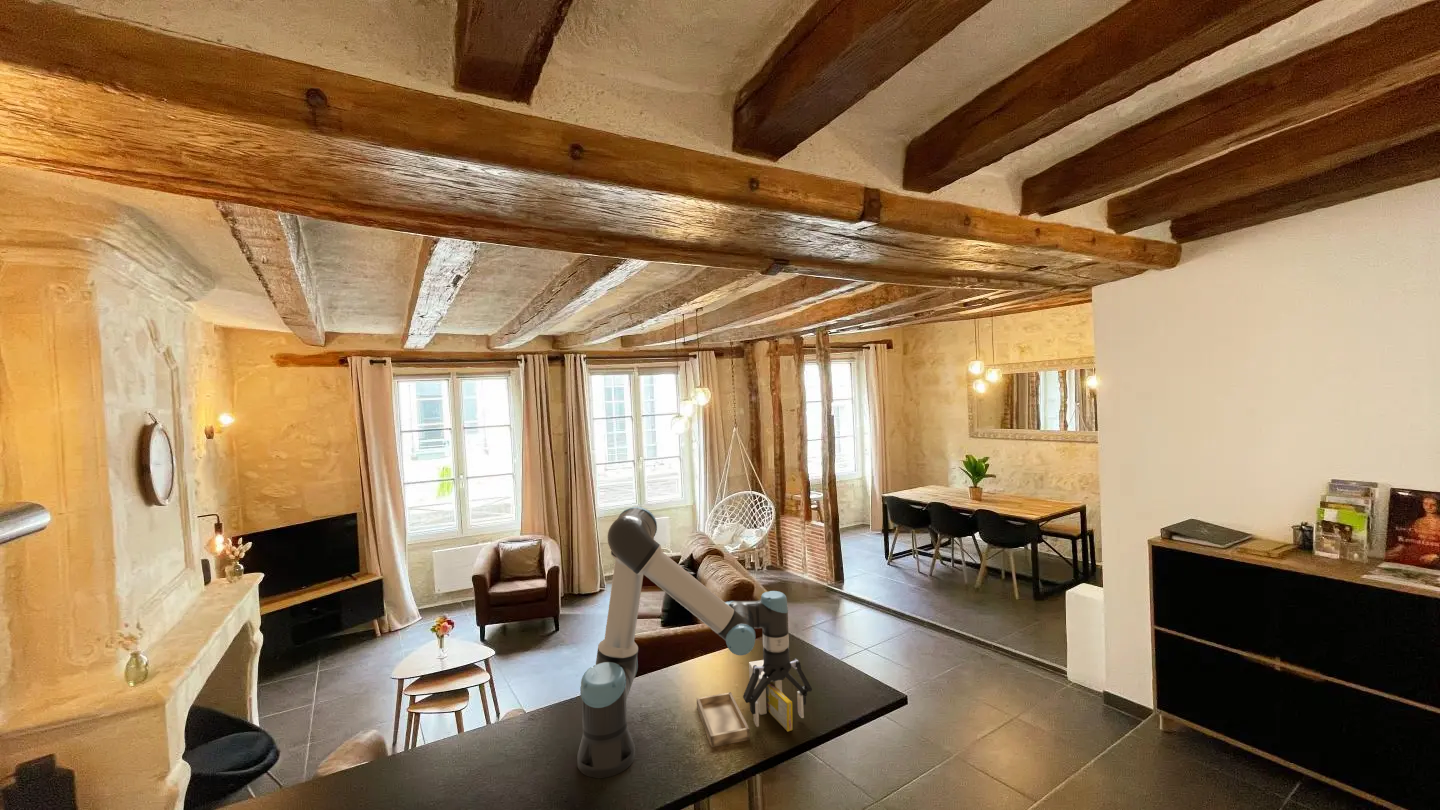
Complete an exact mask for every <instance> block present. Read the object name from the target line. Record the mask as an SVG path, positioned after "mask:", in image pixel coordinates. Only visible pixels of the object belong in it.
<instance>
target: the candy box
mask: <svg viewBox="0 0 1440 810" xmlns="http://www.w3.org/2000/svg"><path fill="white" fill-rule="evenodd" d="M766 712H768V713H769V714H770V715H771V716H772V717H773V718H774V720H776V722H778V723H779V725H780V726H782V727H783V728H784V730H786V732H789V733H790V732H791V731H793V701H792V700H790V698H788V697H787V696H786V695H785V694H784V693H783V691H782V692H781V691H780V690H779V689H778V688H776V687H775V686H774V685H773V684H772V683H771V682H770V684H768V685H767V686H766Z"/></svg>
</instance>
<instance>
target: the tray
mask: <svg viewBox="0 0 1440 810" xmlns="http://www.w3.org/2000/svg"><path fill="white" fill-rule="evenodd" d="M696 709H697V712H698V715H699V717H700V720H701V722H702V725H703V728H704V730H705V733H706V737H707V739H708V741H709V744H710V747H711V748H715V747H720V746H724V745H725V746H726V745H729V744H734V743H735V744H736V743H740V742H744V741H745V742H747V741H749V740H751V735H750V733H751V732H750V731H751V729H750V727H749V725H748V723H747V721H746V719H745V717H744V715H743V714H742V712H741V709H740V707H739V705H738V704H737V701H736V699H735V698H734V695H733V693H732V692H731V691H728V692H725V693H718V694H713V695H706V696H700V697H696Z"/></svg>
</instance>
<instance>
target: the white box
mask: <svg viewBox="0 0 1440 810" xmlns="http://www.w3.org/2000/svg"><path fill="white" fill-rule="evenodd" d="M763 664H764V660H763V659H761V660H754V661H749V662H748V672H749V673H748V674H749V676H748V677H749V679H750V678H751V676H752V673H753V666H754V665H756V666H757V667H760V666H763ZM763 674H764V671H763V672H761V675H759V679H758V681H757V684H756V686H757V685H758V683H759V682H760V680H761V679H762V676H763ZM767 678H768V677H767ZM771 683H772V684H773V685H774V686H775V687H776V688H778V689H779V690H780V691H781V692H782V693H783V680H777V681H771ZM756 686H755V688H756ZM757 703H758V712H759V716H762V715H766V714H767V712H768V711H767V710H766V688H765V689H764V691H763V692H762V694H761V695H760V697H759V698H758V700H757Z"/></svg>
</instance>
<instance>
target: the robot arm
mask: <svg viewBox="0 0 1440 810" xmlns="http://www.w3.org/2000/svg"><path fill="white" fill-rule="evenodd" d="M657 531H658V525H657V519H656V517H655V515H654V514H653V513H652V512H651V511H650V510H649V509H647V508H645V507H642V506H632V507H629V508H627V509H625V510H623V511H622V512H621V513H620V514H619V516H618V518H617V519H615V520H614V521H613V523H612V524H611V525H610V527H609V528H608V532H607V544H608V547H609V549H610V551H611V552H610V556H612V558H613V559H614V567H613V574H612V583H611V589H610V596H609V604H608V611H607V619H606V625H605V633H604V639H602V640H601V641H600V642H599V643H598V646H597V652H596V660H595V665H593V666H592V667H589V668H588V669H587V670H586V671H585V672H584V674H583V675H582V677H581V680H580V686H579V687H580V689H579V690H580V698H581V699H580V700H581V701H580V702H581V719H582V720H581V721H582V722H581V723H582V737H581V741H580V744H579V747H578V752H577V755H576V757H577V759H576V761H577V768H578V771H579V772H581V774H583V775H584V776H586V777H589V778H595V779H602V778H604V779H605V778H609V777H614V776H616V775H618V774H620V773H622V772H624V771H625V770H627V769H628V768H629V767H631V765H632V764H633V763H634V760H635V758H636V745H635V742H634V739H633V737H632V734H631V732H630V730H629V727H628V710H627V700H628V697H629V693H630V691H631V687H632V685H633V682H634V679H635V678H636V675H637V672H638V668H639V664H638V662H639V661H638V653H639V646H638V644H637V643H636V642H635V637H636V631H637V630H636V629H637V621H638V614H639V609H640V601H641V593H642V587H643V579H644V576H645V577H646V578H647V579H648V580H650V582H652V583H653V584H655V585H656V586H657V587H658V588H660V589H661V590H662V591H663V592H665V593H666V594H667V595H668V596H670V597H671V598H672V599H673V600H675V602H677V603H678V604H680V606H682V607H684V609H686V610H687V611H689V613H691V614H692V615H693V616H694V617H696V618H697V619H698V620H700V621H701V622H702V623H704V625H706V626H707V627H708V628H710V630H712V631H713V632H714V633H715V634H716V635H718V636H719V637H720V638H722V639H723V640H724V641H725V643H726V646H727V648H728V650H729V651H730V652H731V653H732V654H734V655H736V656H745V655H748V654H749V653H750V652H752V651H753V649H754V647H755V643H756V631H755V630H756V629H762V631H761V632H762V647H763V649H762V652H763V653H762V655H763V657H762V658H763V659H762V660H764V664H763V666H760V667H757V666H756V665H754V666H753V673H752V676H751V678H749V681H748V683H747V685H746V688H745V690H744V693H743V696H742V698H743V700H744V702H745V703H746V704H748V703H749V712H751V714H752V716H753V723H754V725H755V726H756V727H757V728H758V727H760V717H759V716H760V714H759V712H758V703H757V700H758V698H759V697H760V695H761V694H762V692H763V691H764V689H765V688H766V686H767V685H768V684H770V682H771V681H777V680H782V681H784V679H785V678H786V679H787V680H788V681H789V682H790V683H791V684H792V685H794V687H795V688H796V689H797V690H798V691H796V698H797V714H798V716H799V717H800V718H801V719H804V718H805V714H804V706H805V705H806V704H807V696H808V692H812V690H813V688H812V686H811V684H810V683H809V681H808V679H807V677H806V675H805V673H804V672H803V670H802V665H801V662H800V661H799V659H798V658H794V659H792V661H790V648H789V647H790V641H789V639H790V638H789V609H788V608H789V607H788V598H787V596H786V594H785V593H784V592H781V591H779V590H778V591H777V590H770V591H765V592H763V593H762V594H761V596H760V599H758V600H729V601H724V600H723V599H722V598H720V597H719V596H718V595H717V594H716V593H714V592H713V591H711V589H709V587H706V585H704V584H703V583H702V582H700V581H699V580H698V579H697V578H695V576H693V575H692V574H690V573H689V572H688V571H687V570H686V569H684V567H682V566H681V565H679V564H678V563H677V562H676V561H674V560H673V559H672V558H671V557H670V556H669V555H668V554H666V553H665V552H663V551H662V546H661V544H659V543H658V542H657V541H656V540H655V536H656V535H657V534H656V533H657ZM791 668H793V669H794V670H795V671H796V673H797V674H798V677H799V679H801V682H802V684H803V686H802V685H801V684H800V683H799V681H797V680H796V678H795V677H793V675H791V673H790V670H791ZM763 671H764V674H763V676H762V679H761V680H760V682H759V683H758V685H757V686H756V684H757V681H758V679H759V675H761V672H763ZM767 677H768V678H767ZM755 686H756V688H755Z"/></svg>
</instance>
